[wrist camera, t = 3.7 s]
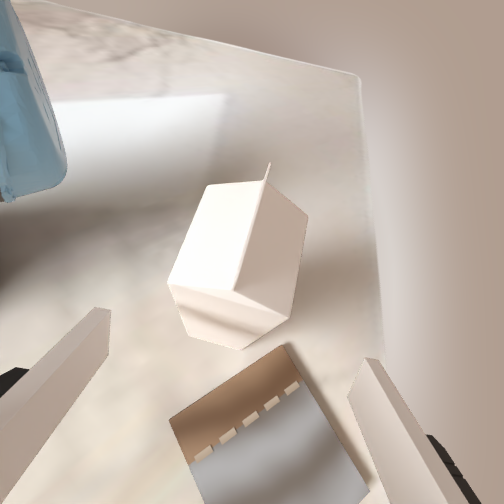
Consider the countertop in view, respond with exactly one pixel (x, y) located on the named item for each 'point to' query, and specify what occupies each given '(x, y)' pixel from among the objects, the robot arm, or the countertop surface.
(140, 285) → the countertop surface
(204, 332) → the milk
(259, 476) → the board
